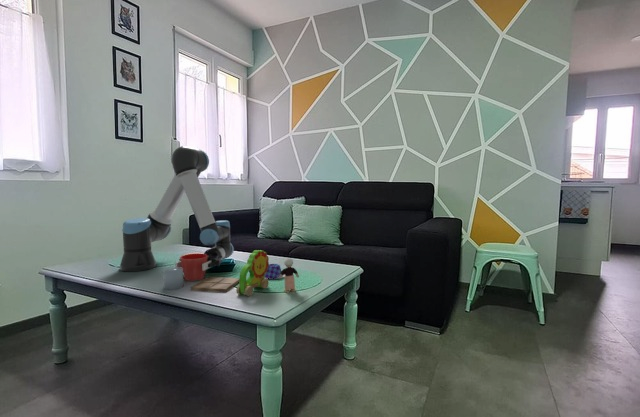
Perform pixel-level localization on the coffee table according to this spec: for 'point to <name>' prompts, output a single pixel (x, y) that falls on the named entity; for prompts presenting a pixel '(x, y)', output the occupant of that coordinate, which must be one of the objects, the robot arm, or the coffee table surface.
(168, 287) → the grey rounded cylinder
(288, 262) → the grandmother figurine
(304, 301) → the coffee table surface
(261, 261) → the toy lion
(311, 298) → the coffee table surface
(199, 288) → the trivet
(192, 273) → the flower pot
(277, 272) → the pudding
